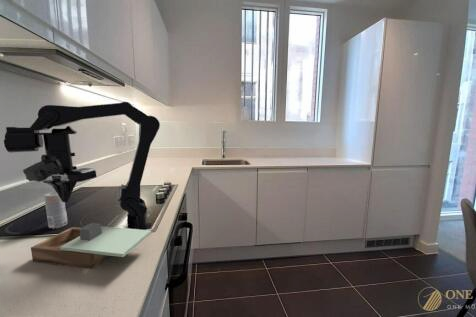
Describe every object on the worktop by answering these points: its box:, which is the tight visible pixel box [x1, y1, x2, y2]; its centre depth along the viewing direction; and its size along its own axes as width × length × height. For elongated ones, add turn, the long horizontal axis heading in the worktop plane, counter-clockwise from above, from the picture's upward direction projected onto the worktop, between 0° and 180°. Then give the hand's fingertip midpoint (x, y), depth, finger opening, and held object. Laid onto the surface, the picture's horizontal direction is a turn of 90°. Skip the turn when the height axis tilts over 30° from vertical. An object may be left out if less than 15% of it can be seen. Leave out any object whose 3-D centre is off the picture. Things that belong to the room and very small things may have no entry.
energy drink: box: [43, 191, 69, 230], centre depth 79 cm, size 5×5×12 cm
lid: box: [60, 222, 152, 258], centre depth 60 cm, size 12×18×4 cm, turn 80°
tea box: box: [30, 226, 110, 270], centre depth 63 cm, size 12×18×4 cm, turn 79°
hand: (65, 202), depth 66 cm, fingers closed
